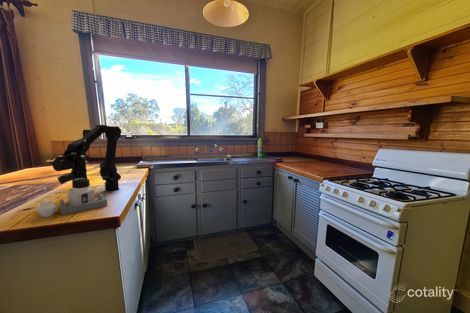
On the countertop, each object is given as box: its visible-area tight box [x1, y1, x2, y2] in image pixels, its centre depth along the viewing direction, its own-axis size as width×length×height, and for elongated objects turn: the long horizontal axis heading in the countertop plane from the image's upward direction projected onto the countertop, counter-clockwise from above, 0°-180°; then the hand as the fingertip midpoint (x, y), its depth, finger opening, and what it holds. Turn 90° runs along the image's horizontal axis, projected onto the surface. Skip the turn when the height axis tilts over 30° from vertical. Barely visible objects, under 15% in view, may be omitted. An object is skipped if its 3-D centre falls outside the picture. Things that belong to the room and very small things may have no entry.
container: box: [67, 177, 96, 206], centre depth 95 cm, size 8×8×13 cm
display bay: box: [59, 192, 108, 216], centre depth 95 cm, size 17×14×3 cm
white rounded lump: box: [36, 199, 57, 218], centre depth 83 cm, size 6×6×7 cm
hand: (81, 196), depth 102 cm, fingers closed, pressing on container
